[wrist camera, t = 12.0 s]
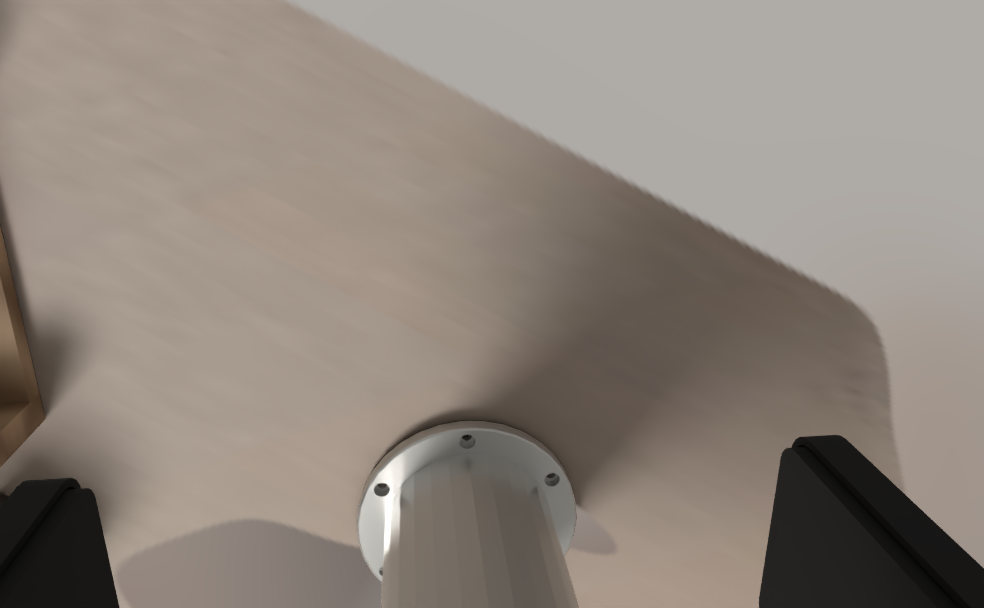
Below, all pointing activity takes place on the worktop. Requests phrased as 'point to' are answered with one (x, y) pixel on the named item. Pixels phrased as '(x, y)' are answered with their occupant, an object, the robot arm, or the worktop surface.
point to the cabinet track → (15, 370)
